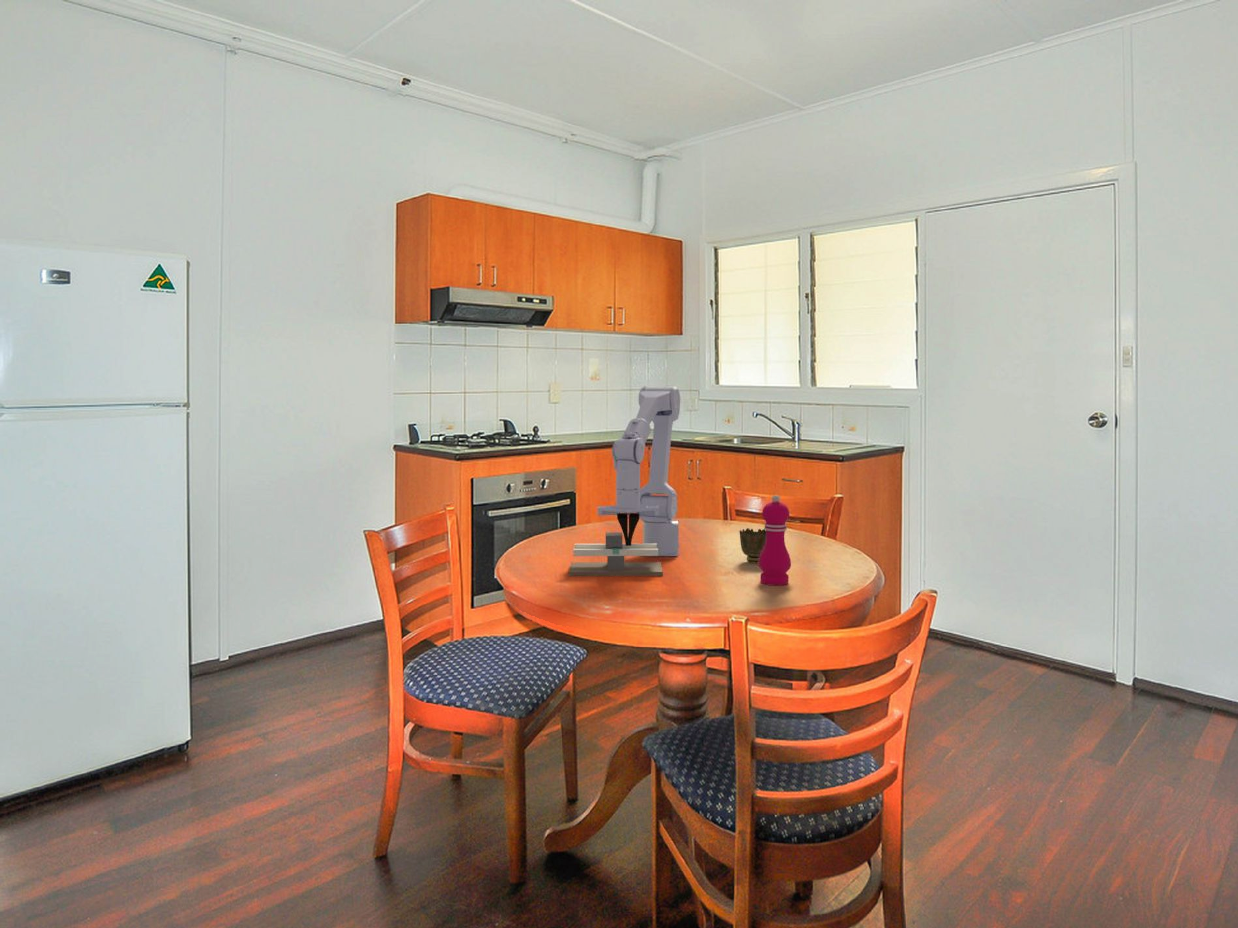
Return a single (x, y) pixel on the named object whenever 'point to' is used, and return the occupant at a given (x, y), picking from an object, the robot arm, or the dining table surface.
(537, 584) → the dining table surface
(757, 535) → the cup
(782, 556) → the pepper mill
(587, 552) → the balance stand
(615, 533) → the rider
